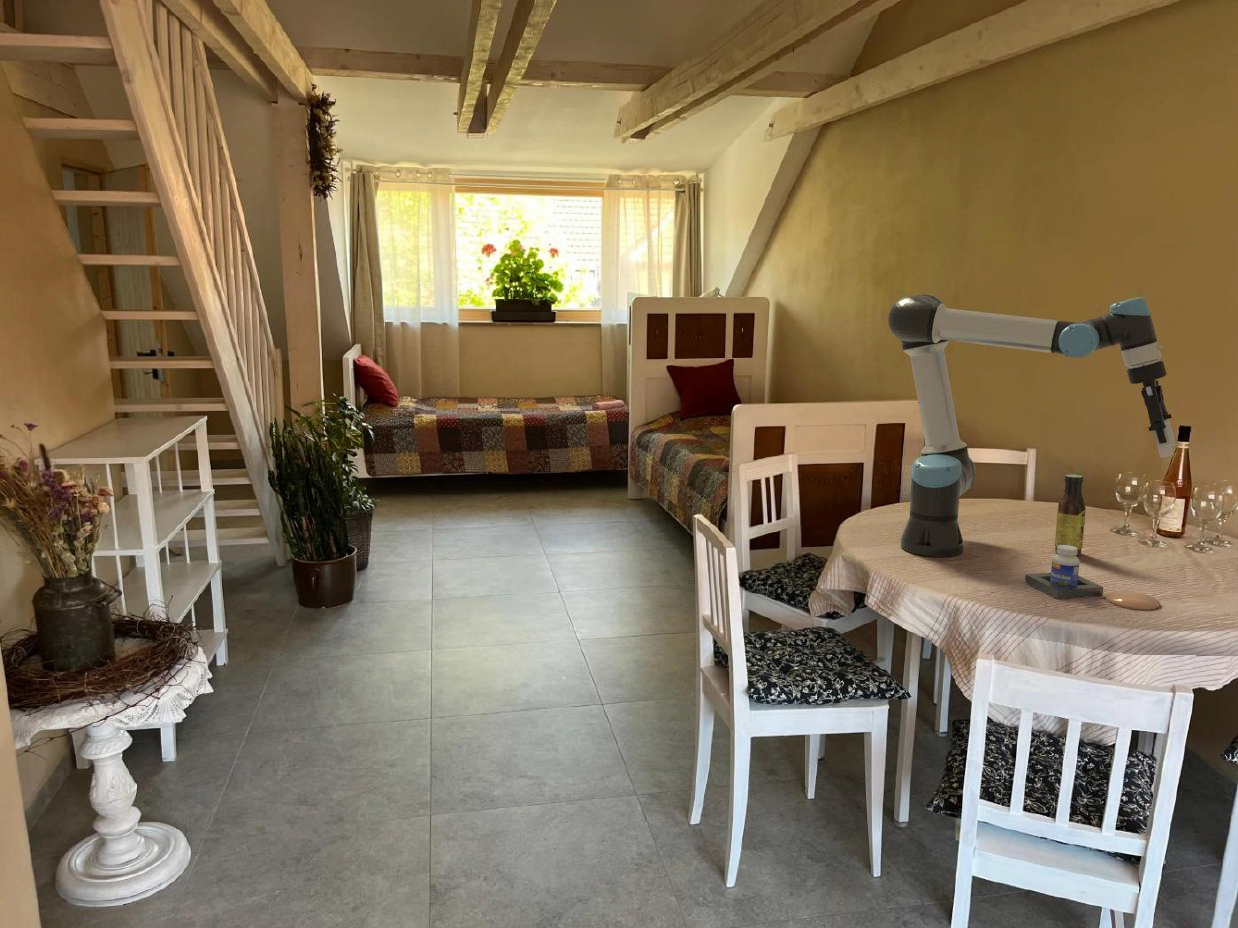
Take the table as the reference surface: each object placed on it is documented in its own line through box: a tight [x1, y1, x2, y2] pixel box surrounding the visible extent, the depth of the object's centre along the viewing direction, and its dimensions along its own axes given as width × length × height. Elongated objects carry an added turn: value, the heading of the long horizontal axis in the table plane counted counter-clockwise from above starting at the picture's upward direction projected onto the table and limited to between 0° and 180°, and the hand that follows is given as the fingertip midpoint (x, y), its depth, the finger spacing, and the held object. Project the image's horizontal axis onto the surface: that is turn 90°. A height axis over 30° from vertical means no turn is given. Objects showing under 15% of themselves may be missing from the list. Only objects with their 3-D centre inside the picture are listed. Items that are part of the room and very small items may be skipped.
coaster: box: [1105, 590, 1160, 611], centre depth 188 cm, size 10×10×1 cm
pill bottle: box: [1050, 545, 1081, 587], centre depth 195 cm, size 5×5×10 cm
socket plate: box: [1024, 572, 1104, 600], centre depth 196 cm, size 11×11×2 cm
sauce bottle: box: [1054, 473, 1087, 557], centre depth 220 cm, size 6×6×20 cm
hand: (1168, 451), depth 206 cm, fingers open, 13 cm apart
